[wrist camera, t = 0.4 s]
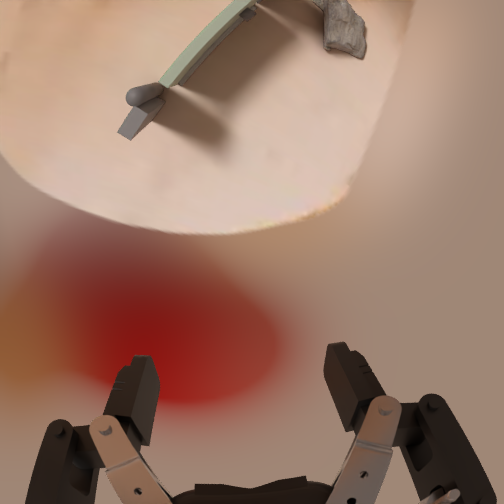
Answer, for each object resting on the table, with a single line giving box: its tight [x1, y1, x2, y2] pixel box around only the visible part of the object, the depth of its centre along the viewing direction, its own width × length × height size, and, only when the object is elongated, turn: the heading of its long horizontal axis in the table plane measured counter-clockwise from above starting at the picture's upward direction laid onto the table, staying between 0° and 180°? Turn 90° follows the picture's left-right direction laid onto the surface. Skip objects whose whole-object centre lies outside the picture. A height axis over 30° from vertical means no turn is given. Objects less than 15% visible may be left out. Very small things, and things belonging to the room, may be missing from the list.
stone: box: [313, 0, 366, 58], centre depth 22 cm, size 6×12×4 cm, turn 10°
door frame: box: [118, 0, 262, 141], centre depth 21 cm, size 3×24×10 cm, turn 138°
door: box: [158, 0, 257, 88], centre depth 22 cm, size 2×14×7 cm, turn 138°
